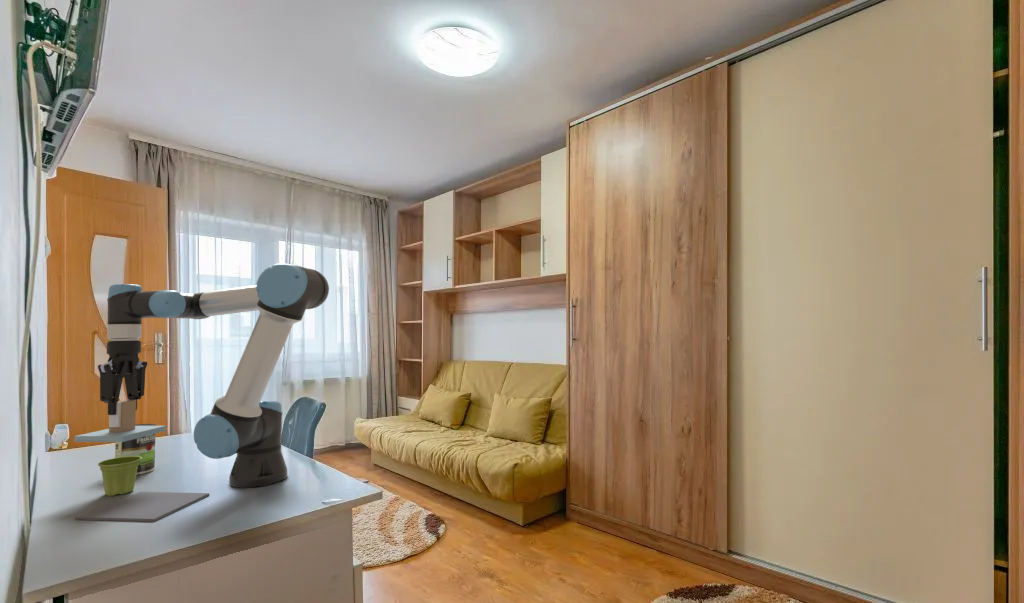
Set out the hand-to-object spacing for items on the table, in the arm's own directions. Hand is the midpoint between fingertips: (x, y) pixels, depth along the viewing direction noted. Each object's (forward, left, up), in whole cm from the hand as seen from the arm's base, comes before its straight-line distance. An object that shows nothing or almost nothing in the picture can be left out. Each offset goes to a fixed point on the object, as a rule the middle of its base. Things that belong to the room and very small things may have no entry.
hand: (122, 424), depth 136 cm
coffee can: (+13, -19, -18) cm, 30 cm away
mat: (-17, +10, -18) cm, 27 cm away
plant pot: (0, 0, -18) cm, 18 cm away
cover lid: (0, 0, -3) cm, 3 cm away
